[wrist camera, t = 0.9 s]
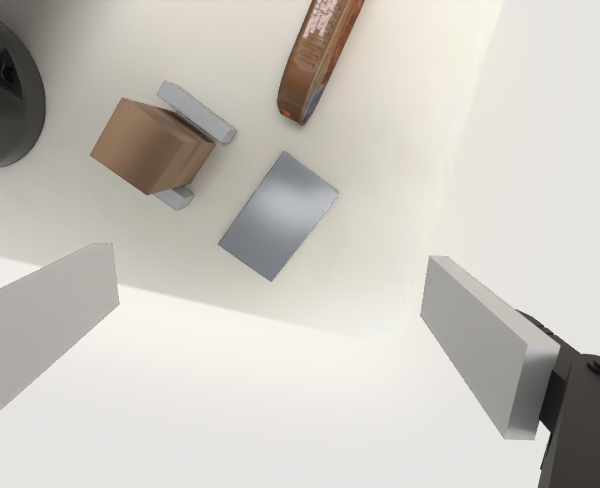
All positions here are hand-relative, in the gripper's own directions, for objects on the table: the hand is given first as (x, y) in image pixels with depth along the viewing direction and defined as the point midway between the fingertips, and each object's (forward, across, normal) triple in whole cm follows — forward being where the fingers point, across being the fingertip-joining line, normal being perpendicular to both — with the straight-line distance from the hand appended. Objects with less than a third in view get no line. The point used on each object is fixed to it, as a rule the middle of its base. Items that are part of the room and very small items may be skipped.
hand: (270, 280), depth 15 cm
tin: (+23, +3, +14) cm, 28 cm away
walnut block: (+23, -11, +4) cm, 26 cm away
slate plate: (+23, -1, -2) cm, 23 cm away
